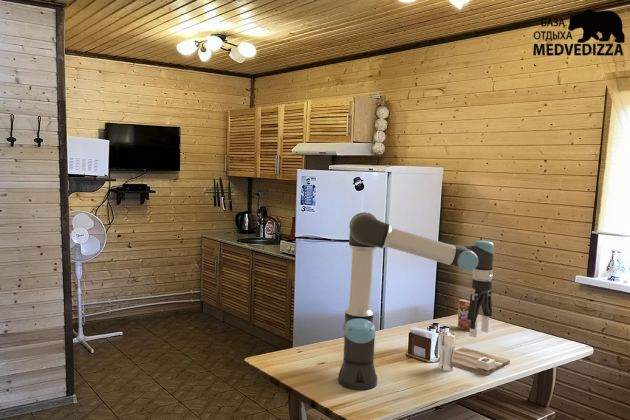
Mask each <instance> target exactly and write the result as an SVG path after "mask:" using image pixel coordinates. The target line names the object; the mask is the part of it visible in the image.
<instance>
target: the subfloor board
mask: <svg viewBox="0 0 630 420" xmlns="http://www.w3.org/2000/svg"><path fill="white" fill-rule="evenodd" d="M483 357H486V358H490V359H493V360H495V367H494V368H492V369H490V370H485V369H481V368H478V367H477V360H478V359H480V358H483ZM437 359H438V360H437V361H438V362H439V360H440V357H439V356H438V358H437ZM509 364H511V360H510V359H507V358H504V357H500V356H496V355H493V354H490V353H485V352H481V351H478V350H474V349H471V348H468V347H464V346H463V347H460V348H457V349H455V351H454V355H453V360H452V365H453V366H454V367H457V368H460V369H463V370H467V371H471V372H474V373H476V374H479V375H483V376H486V377H487V376H489V375H491V374H493V373H495V372H497V371H499V370H500V369H503V368H504V367H505V366H508V365H509Z"/></svg>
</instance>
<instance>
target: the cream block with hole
mask: <svg viewBox="0 0 630 420" xmlns="http://www.w3.org/2000/svg"><path fill="white" fill-rule="evenodd" d="M477 367H478V368H481V369H485V370H490V369H492V368H494V367H495V360H493V359H490V358H486V357H483V358H480V359H478V360H477Z"/></svg>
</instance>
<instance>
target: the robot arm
mask: <svg viewBox="0 0 630 420" xmlns="http://www.w3.org/2000/svg"><path fill="white" fill-rule="evenodd" d="M348 226H349V228H348V229H349V237H348V238H349V239H348V240H349V241H348V246H349V247H350V248H351V250H352V251H351V269H350V283H349V284H350V285H349V286H350V287H349V304H348V307H347V309H345V312H344V323H343V335H344V336H343V337H344V338H343V340H344V341H343V358H342V359H343V360H342V361H343V362H342V364H341V367H340V369H339V372H338V374H337V375H338V376H337V382H338V384H339V385H341V386H342V387H344V388H346V389H351V390H360V391H365V390H370V389H371V390H372V389H374V388H376V386H377V385H378V375H377V373H376V368H375V363H374V362H375V361H374V360H375V337H376V326H375V324H374V314H375V313H374V311H373V310H372V309H371V300H372V299H371V297H372V284H373V282H372V281H373V266H374V265H373V264H374V252H375V250H376V249H377V248H379V249H384V248H388V249H393V250H397V251H399V252H403V253H407V254H410V255H412V256H416V257H417V256H418V257H421V258H423V259H428V260H431V261H434V262H438V263H442V264H445V265H447V266H452V267H455V268H458V269H461V270H462V271H464V272H465V271H466V272H471V271H472V280H471V281H472V282H471V288H472V289H474V294H470V295H469V296H470V297H469V298H470V300H469V301H470V305H469V311H468V317H467V319H468V320H470V331H469V334H468V335H469V337H471V338H477V337H478V335H477V334H478V320H477V319H478V315H479V312H480V309H481V310H482V314H483V315H481V329H480V332H483V333H489V324H490V318H491V317H492V316H493V315H492V314H493V304H492V302H493V301H492V293H493V292H492V291H491V290H492V285H493V283H492V282H493V281H492V280H493V275H494V272H493V269H494V267H493V264H494V255H495V251H494V250H495V247H494V246H495V245H494V243H493V242H492V241H488V240H475V241H474V244H472V245H464V244H463V245H462V244H453V243H452V244H449V243H445V242H442V241H439V240H436V239H432V238H429V237H425V236H423V235H422V236H421V235H418V234H415V233H410V232H407V231H404V230H401V229H398V228H395V227H394V228H393V227H392V226H391V224H389V223H387V222H383V221H381V220H378V219H377V218H376V216H375V215H373V214H372V213H371V212H365V211H364V212H358V213H357V214H355V215H353V217H352V218H351V220H350V221H349V225H348Z"/></svg>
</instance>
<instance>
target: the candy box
mask: <svg viewBox="0 0 630 420" xmlns="http://www.w3.org/2000/svg"><path fill="white" fill-rule="evenodd" d="M469 305H470V300H466V299H464V298H463V299H458V308H457V309H458V312H457V329H460V330H465V331H468V332H470V320H468V319H467V317H468V311H469Z"/></svg>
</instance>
